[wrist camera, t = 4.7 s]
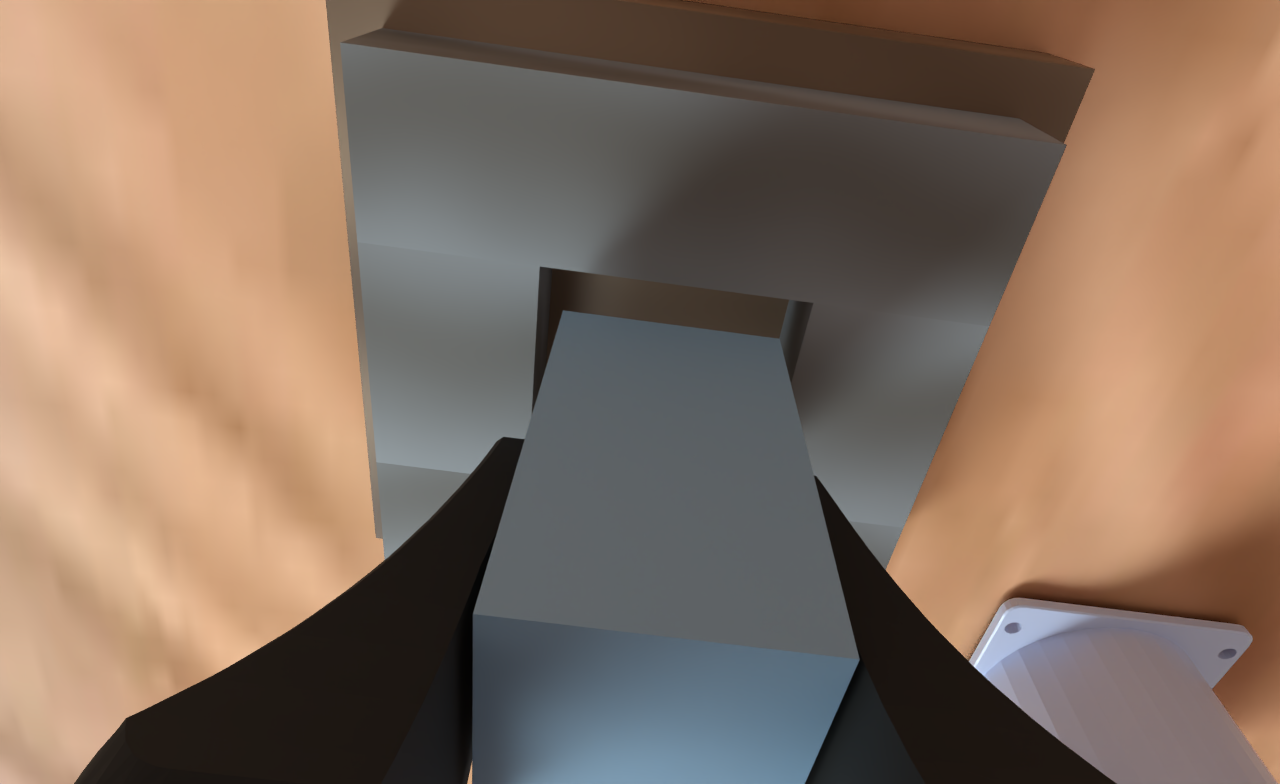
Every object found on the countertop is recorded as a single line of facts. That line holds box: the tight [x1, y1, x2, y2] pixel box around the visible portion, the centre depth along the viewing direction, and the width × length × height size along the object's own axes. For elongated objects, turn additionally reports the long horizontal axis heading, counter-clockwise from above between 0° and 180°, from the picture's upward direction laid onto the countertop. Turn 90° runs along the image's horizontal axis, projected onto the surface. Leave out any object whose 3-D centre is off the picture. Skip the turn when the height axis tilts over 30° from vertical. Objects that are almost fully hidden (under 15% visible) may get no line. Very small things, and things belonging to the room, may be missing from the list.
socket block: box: [326, 0, 1095, 569], centre depth 17 cm, size 14×14×4 cm
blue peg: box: [472, 310, 860, 784], centre depth 12 cm, size 4×4×7 cm
